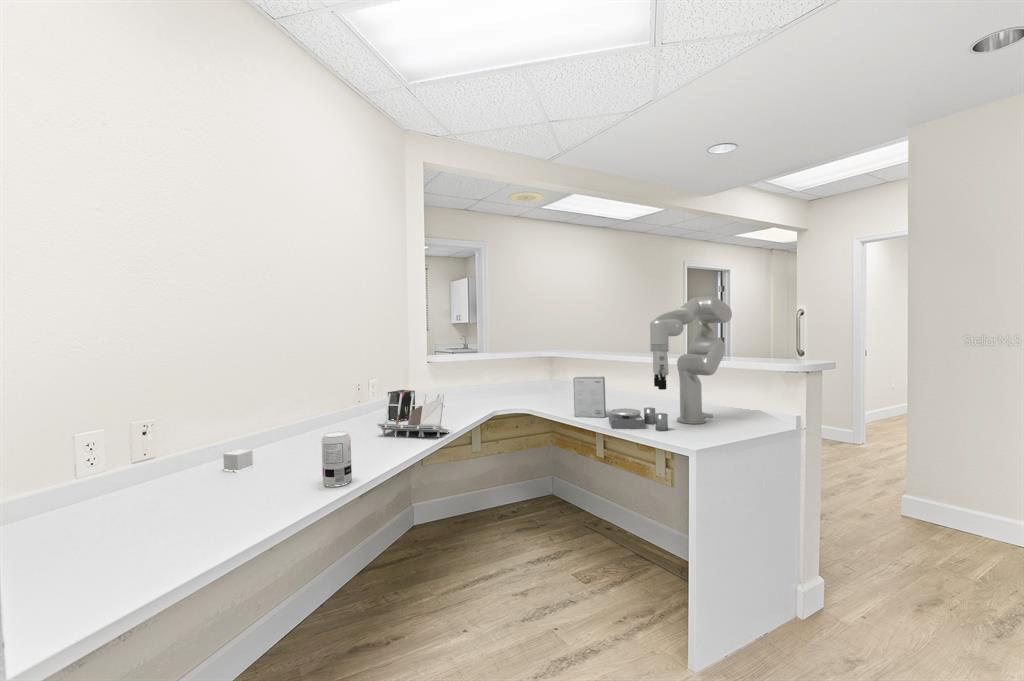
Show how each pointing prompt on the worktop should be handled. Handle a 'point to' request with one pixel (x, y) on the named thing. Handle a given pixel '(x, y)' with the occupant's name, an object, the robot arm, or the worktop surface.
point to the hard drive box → (589, 396)
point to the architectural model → (418, 417)
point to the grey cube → (238, 459)
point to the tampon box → (404, 404)
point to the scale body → (626, 422)
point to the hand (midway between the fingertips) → (660, 387)
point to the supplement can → (336, 458)
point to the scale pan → (626, 412)
